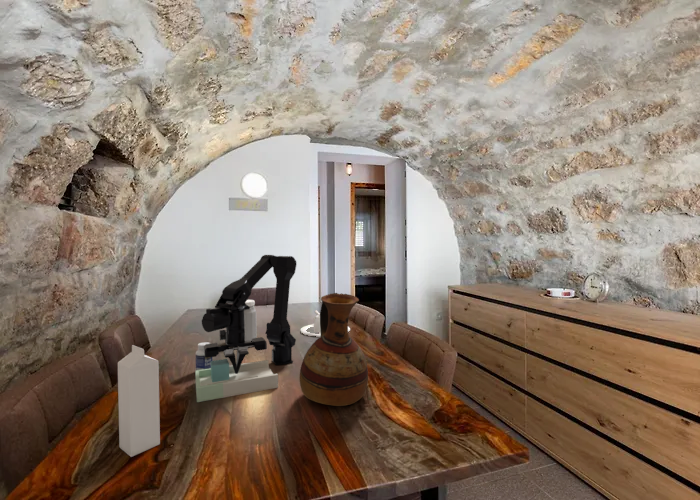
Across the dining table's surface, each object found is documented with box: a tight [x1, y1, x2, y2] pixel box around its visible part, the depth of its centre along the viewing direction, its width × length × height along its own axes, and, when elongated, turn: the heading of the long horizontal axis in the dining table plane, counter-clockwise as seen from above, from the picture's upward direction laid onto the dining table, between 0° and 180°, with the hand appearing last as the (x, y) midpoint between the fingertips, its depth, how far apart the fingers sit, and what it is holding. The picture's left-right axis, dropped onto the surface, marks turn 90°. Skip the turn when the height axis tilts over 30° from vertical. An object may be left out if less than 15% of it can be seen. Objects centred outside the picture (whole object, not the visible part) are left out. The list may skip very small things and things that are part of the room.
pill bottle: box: [195, 341, 213, 371], centre depth 122 cm, size 5×5×10 cm
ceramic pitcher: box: [299, 292, 369, 407], centre depth 101 cm, size 20×20×30 cm
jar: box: [244, 299, 258, 342], centre depth 161 cm, size 10×10×18 cm
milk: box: [117, 344, 161, 458], centre depth 77 cm, size 6×6×22 cm
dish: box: [300, 309, 351, 338], centre depth 177 cm, size 25×25×11 cm
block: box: [211, 358, 230, 382], centre depth 111 cm, size 5×5×5 cm
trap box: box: [194, 359, 279, 403], centre depth 110 cm, size 23×15×4 cm, turn 115°
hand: (236, 373), depth 113 cm, fingers closed
